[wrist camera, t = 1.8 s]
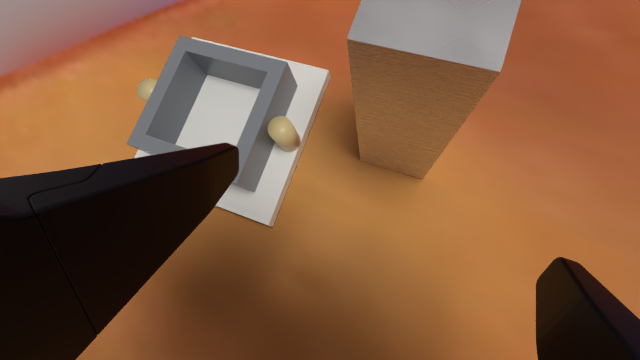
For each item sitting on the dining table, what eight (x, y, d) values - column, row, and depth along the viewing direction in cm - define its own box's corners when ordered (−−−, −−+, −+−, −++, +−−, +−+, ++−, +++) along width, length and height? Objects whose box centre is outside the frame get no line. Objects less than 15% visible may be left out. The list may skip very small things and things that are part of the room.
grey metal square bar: (422, 179, 21) (500, 71, 8) (360, 160, 22) (346, 38, 9) (440, 121, 22) (538, -59, 9) (379, 105, 23) (391, -78, 10)
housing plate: (272, 226, 22) (251, 221, 18) (137, 175, 24) (93, 161, 21) (330, 77, 24) (322, 43, 20) (198, 44, 26) (169, 9, 22)
